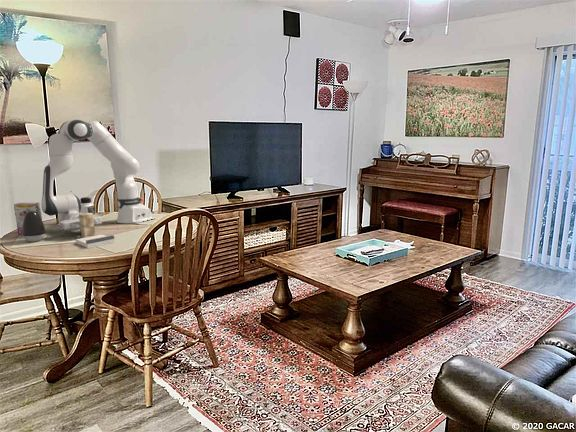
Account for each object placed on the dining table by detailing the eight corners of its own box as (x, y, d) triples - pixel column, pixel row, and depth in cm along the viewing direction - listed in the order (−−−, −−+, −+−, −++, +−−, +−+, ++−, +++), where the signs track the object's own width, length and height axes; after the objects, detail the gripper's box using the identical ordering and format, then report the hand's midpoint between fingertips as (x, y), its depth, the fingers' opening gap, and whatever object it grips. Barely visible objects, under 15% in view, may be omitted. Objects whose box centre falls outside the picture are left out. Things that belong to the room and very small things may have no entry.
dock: (102, 238, 220) (101, 231, 220) (114, 242, 212) (113, 235, 211) (76, 243, 211) (75, 236, 210) (87, 248, 202) (87, 241, 202)
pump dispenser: (37, 237, 223) (33, 208, 220) (51, 239, 219) (47, 209, 216) (18, 241, 214) (14, 211, 211) (32, 244, 210) (28, 213, 207)
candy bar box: (17, 234, 228) (13, 204, 224) (21, 232, 233) (17, 202, 229) (40, 234, 230) (36, 204, 226) (44, 231, 235) (39, 201, 231)
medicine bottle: (88, 217, 271) (86, 198, 269) (78, 216, 273) (76, 198, 270) (95, 215, 278) (94, 196, 276) (86, 214, 280) (84, 196, 277)
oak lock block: (90, 235, 227) (88, 212, 224) (95, 236, 224) (92, 214, 221) (81, 237, 223) (78, 214, 221) (85, 238, 220) (83, 215, 218)
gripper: (54, 218, 223) (65, 222, 213) (94, 212, 237) (106, 215, 228) (56, 230, 224) (67, 234, 215) (95, 223, 239) (107, 227, 230)
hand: (87, 224), depth 222 cm, fingers open, 8 cm apart
